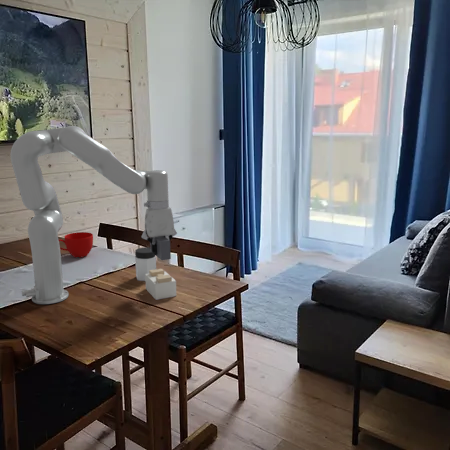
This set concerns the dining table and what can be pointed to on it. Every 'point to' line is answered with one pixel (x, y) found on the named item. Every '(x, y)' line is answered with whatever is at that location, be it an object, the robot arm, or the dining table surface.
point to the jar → (144, 262)
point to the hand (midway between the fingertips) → (160, 252)
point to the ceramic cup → (78, 243)
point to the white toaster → (160, 284)
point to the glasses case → (162, 248)
